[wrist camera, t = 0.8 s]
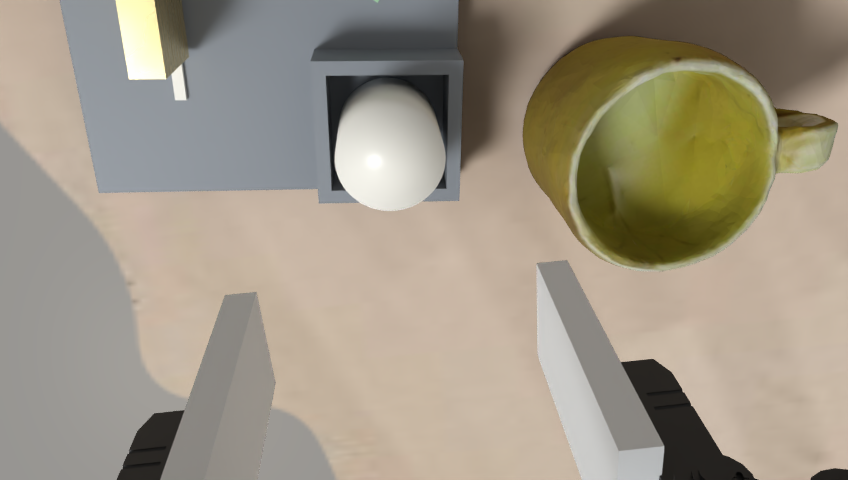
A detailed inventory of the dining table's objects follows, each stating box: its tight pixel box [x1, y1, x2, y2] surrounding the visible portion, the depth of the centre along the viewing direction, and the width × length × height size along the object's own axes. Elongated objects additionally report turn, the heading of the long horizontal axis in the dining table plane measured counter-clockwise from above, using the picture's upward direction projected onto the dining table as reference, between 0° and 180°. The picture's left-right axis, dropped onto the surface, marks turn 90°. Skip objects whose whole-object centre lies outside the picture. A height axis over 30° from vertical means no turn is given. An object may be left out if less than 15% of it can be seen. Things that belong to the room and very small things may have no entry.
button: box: [335, 78, 446, 211], centre depth 31 cm, size 4×4×4 cm
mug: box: [523, 36, 838, 271], centre depth 33 cm, size 12×10×10 cm
